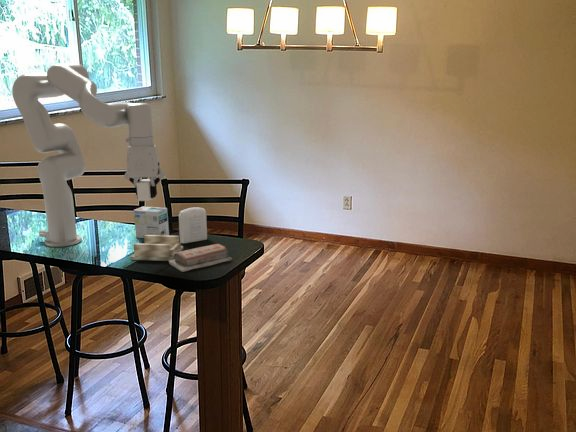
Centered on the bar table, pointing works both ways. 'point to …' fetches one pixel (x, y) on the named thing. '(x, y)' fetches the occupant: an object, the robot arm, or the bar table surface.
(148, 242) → the beige wooden tray
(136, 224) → the light bulb box
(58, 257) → the bar table surface
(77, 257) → the bar table surface
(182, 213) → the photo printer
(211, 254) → the packaged product
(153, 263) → the bar table surface
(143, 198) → the white rectangular block
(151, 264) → the bar table surface
